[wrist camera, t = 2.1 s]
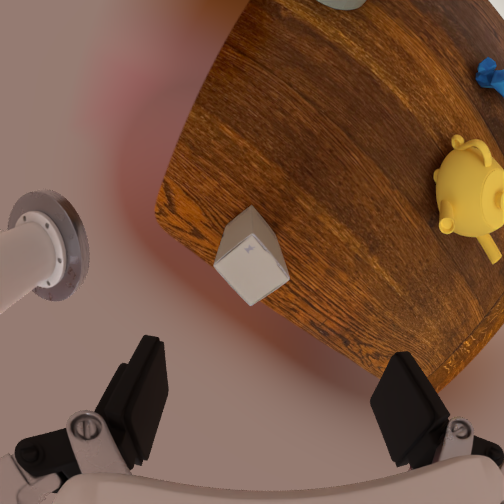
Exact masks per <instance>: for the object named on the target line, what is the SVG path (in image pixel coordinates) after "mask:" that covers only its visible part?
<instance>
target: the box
mask: <svg viewBox="0 0 504 504" xmlns="http://www.w3.org/2000/svg"><path fill="white" fill-rule="evenodd" d="M214 267H215V269H216V270H217V271H218V272H219V273H220V275H221V276H222V277H223V278H224V279H225V280H226V281H227V282H228V284H229V285H230V286H231V287H232V288H233V289H234V290H235V291H236V292H237V293H238V294H239V295H240V296H241V297H242V298H243V299H244V300H245V301H246V302H247V303H248V304H249V305H250V306H252V305H253V304H255V303H256V302H258V301H259V300H261V299H263V298H264V297H266V296H267V295H269V294H270V293H272V292H273V291H275V290H276V289H278V288H279V287H280V286H282V285H283V284H284V283H286V282H287V281H289V280H290V277H289V273H288V270H287V267H286V264H285V261H284V258H283V255H282V252H281V249H280V246H279V244H278V241H277V238H276V235H275V233H274V232H273V230H272V229H271V228H270V226H269V225H268V224H267V223H266V221H265V220H264V219H263V218H262V216H261V215H260V214H259V213H258V212H257V210H256V209H255V208H254V207H253V206H252V205H251V206H249V207H248V208H247V209H245V210H244V211H243V212H242V213H240V214H239V215H238V216H237V217H236V218H234V219H233V220H232V221H231V222H230V223H228V224H227V225H226V227H225V230H224V233H223V236H222V239H221V242H220V246H219V249H218V252H217V255H216V259H215V262H214Z"/></svg>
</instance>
